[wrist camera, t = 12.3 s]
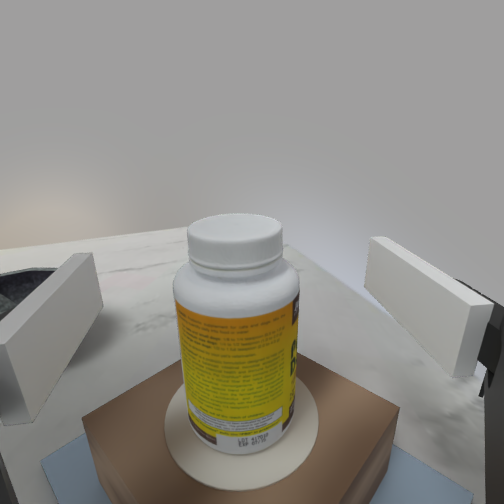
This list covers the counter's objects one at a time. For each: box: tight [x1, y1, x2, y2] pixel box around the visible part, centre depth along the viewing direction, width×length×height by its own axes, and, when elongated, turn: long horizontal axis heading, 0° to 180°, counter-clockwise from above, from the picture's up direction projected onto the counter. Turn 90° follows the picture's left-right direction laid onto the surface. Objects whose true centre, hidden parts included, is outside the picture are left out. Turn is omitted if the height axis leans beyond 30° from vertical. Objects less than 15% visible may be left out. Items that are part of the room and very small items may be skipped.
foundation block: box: [82, 352, 400, 504], centre depth 18 cm, size 12×12×5 cm
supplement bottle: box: [173, 214, 299, 454], centre depth 15 cm, size 6×6×10 cm
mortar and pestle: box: [0, 268, 58, 314], centre depth 28 cm, size 11×9×12 cm
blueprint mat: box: [40, 433, 474, 504], centre depth 19 cm, size 20×16×1 cm
